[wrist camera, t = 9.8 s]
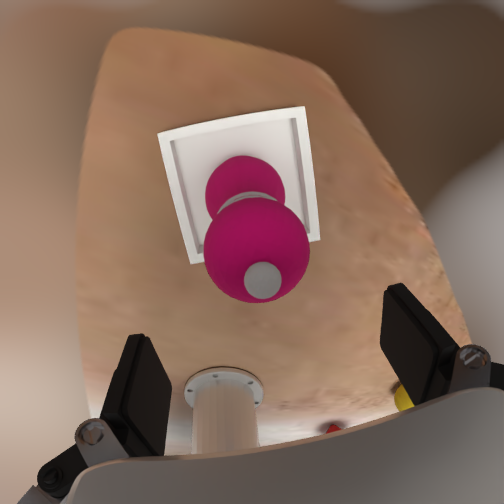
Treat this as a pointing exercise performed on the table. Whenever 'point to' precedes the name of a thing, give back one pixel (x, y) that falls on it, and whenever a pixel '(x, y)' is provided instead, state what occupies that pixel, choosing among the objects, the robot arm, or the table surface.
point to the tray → (236, 144)
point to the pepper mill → (252, 232)
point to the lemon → (402, 399)
